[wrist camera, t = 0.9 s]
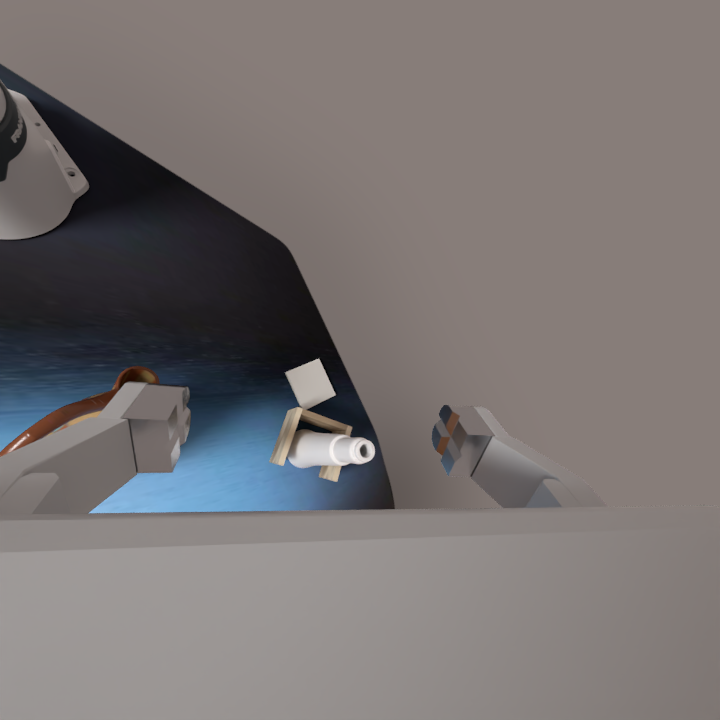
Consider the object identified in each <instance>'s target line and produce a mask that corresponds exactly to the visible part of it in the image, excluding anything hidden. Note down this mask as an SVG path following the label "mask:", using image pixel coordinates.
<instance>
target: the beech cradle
mask: <svg viewBox="0 0 720 720" xmlns="http://www.w3.org/2000/svg"><path fill="white" fill-rule="evenodd" d="M299 420H301V421H304V422H306V423H309V424H312V425H315V426H318V427H320V428H323V429H326V430H329V431H332V434H343V435H348V436H350V434H351V430H352V427H351V426H348V425H345V424H343V423H340V422H337V421H335V420H332V419H329V418H326V417H324V416H321V415H318V414H316V413H313V412H310V411H308V410H305V409H302V408H299V407H296V408H294V409H291V410H288V412H287V414H286V417H285V420H284V423H283V425H282V428H281V431H280V434H279V436H278V439H277V442H276V445H275V448H274V450H273V453H272V456H271V459H270V461H269V462H271V463H274V464H278V465H282V466H283V465H284V462H285V459H286V457H287V454H288V451H289V448H290V445H291V442H292V439H293V436H294V433H295V430H296V428H297V425H298V422H299ZM340 469H341V466H325V465H322V467H321V471H320V474H319V477H321V478H324V479H328V480H332V481H336V482H337V480H338V476H339V473H340Z"/></svg>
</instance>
